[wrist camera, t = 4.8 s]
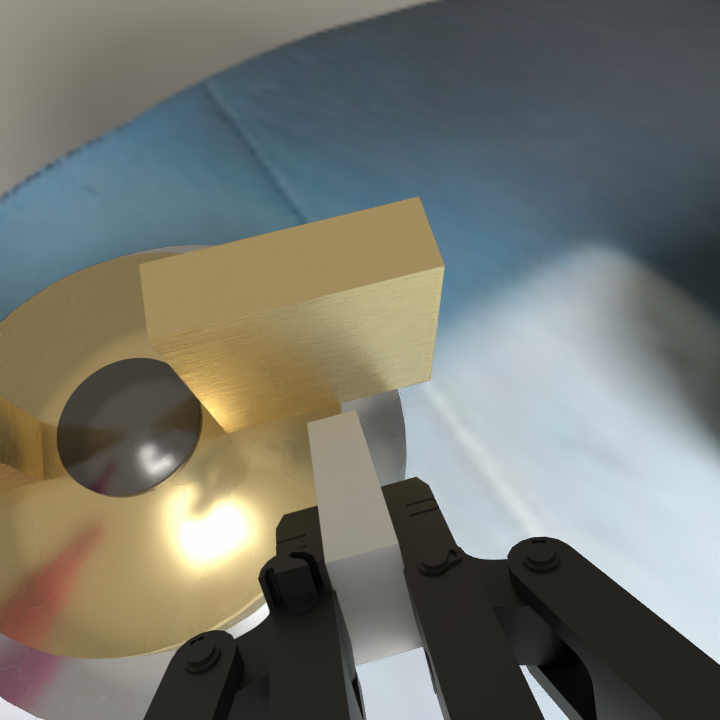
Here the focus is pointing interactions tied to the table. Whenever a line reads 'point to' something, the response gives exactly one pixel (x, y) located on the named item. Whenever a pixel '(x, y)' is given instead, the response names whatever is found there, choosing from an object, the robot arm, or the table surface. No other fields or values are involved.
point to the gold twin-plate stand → (190, 420)
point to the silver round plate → (144, 673)
